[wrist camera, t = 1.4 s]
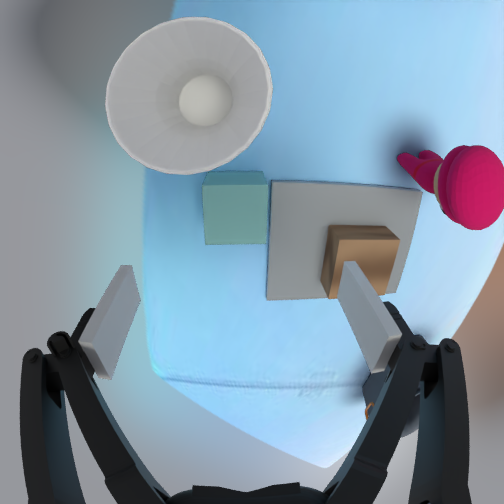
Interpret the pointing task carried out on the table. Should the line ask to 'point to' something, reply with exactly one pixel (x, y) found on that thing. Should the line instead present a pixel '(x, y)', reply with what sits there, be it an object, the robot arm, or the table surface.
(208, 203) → the teal brick
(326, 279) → the walnut brick
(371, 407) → the storage bin
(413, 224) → the build plate
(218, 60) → the cup
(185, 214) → the table surface
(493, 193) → the toy
